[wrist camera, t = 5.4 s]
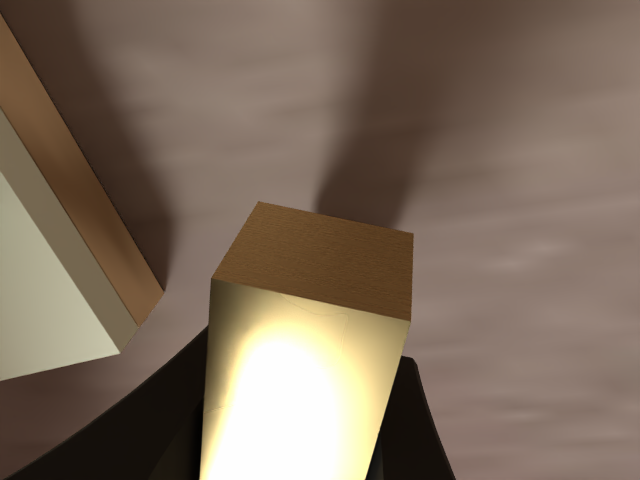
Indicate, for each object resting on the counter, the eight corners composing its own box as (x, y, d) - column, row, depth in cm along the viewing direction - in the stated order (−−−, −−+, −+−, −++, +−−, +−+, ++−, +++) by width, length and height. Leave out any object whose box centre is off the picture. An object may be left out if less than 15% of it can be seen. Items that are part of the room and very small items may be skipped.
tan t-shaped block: (416, 130, 12) (410, 321, 6) (357, 375, 15) (317, 644, 9) (313, 110, 12) (211, 277, 6) (278, 357, 15) (192, 612, 10)
